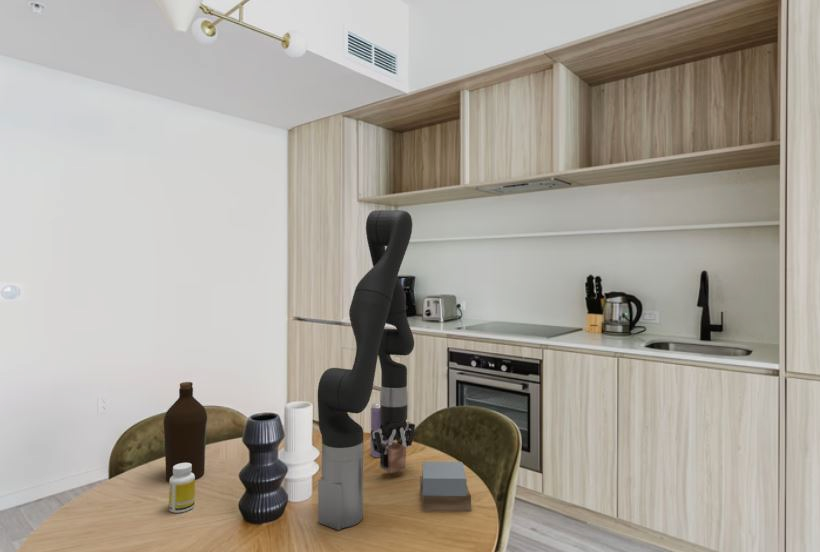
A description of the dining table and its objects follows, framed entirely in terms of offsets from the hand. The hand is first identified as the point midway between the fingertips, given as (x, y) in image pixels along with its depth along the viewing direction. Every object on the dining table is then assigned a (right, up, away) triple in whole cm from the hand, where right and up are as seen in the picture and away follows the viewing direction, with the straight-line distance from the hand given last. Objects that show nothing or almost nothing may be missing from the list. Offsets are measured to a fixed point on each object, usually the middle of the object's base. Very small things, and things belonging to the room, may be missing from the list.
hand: (393, 464), depth 132 cm
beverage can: (-4, -3, +15) cm, 16 cm away
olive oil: (-56, -3, -2) cm, 56 cm away
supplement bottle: (-48, -3, -20) cm, 52 cm away
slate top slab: (+13, +1, -15) cm, 20 cm away
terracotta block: (0, -1, 0) cm, 1 cm away
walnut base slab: (+13, -3, -15) cm, 20 cm away
